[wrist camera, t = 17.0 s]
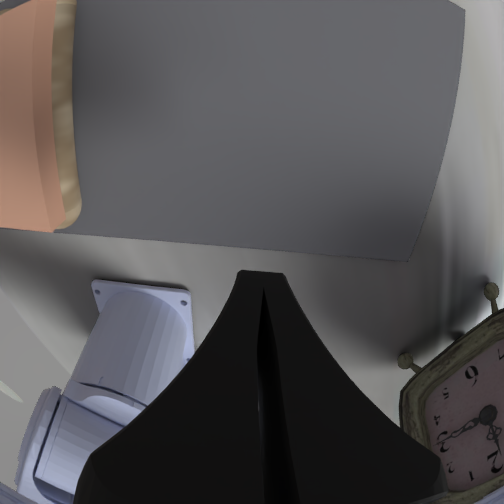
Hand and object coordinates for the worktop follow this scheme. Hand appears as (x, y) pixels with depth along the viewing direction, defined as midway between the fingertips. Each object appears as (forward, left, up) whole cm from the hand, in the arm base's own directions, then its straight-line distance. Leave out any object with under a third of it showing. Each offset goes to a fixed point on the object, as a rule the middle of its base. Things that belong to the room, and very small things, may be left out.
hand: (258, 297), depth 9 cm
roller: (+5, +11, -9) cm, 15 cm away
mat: (+5, +9, -9) cm, 14 cm away
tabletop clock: (-12, -21, -10) cm, 26 cm away
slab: (+5, +18, -6) cm, 20 cm away
